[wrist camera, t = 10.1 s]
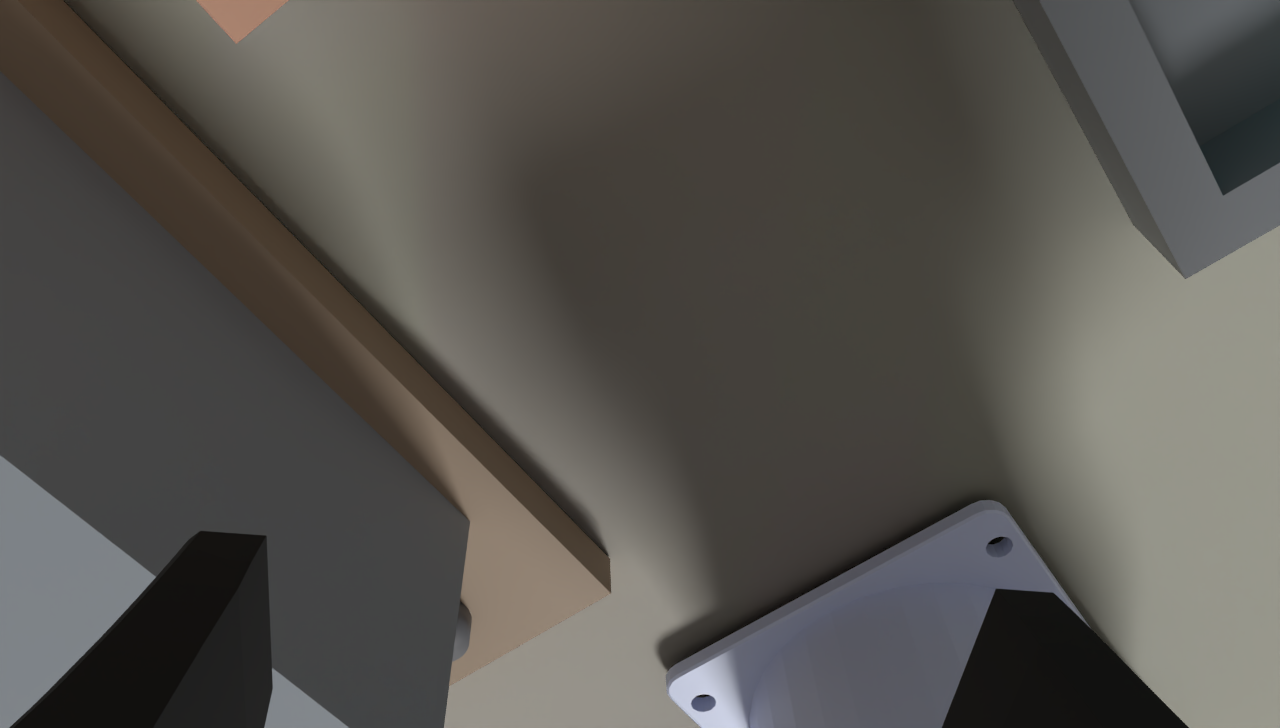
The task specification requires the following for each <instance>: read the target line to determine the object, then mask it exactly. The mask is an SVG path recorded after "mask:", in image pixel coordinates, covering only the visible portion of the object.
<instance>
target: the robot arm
mask: <svg viewBox="0 0 1280 728" xmlns="http://www.w3.org/2000/svg"><path fill="white" fill-rule="evenodd" d="M997 537H1005V538H1004V539H1003V540H1002V541H1000V542H999V543H996V544H988V543H989V542H990V541H991V540H992V539H994V538H997ZM666 687H667V694H668V695H669V697H670V698H671V699H672V700H673V701H674V702H675V703H676V704H677V705H678V706H679V707H680V708H681V709H682V710H683V711H684V712H685V713H686V714H687V715H688V716H689V717H690V718H691V719H692V720H693V721H694V722H695V723H696V724H697V725H698V726H699V727H700V728H1189V727H1188V726H1187V725H1186V724H1185V723H1184V722H1183V721H1182V720H1181V719H1180V718H1179V717H1178V716H1177V715H1176V714H1175V713H1174V712H1173V711H1172V710H1171V709H1170V708H1169V707H1168V706H1167V705H1166V704H1165V703H1164V702H1163V701H1162V700H1161V699H1160V698H1159V697H1158V696H1157V695H1156V694H1155V693H1154V692H1153V691H1152V690H1151V689H1150V688H1149V687H1148V686H1147V685H1146V684H1145V683H1144V682H1143V681H1142V680H1141V679H1140V678H1139V677H1138V676H1137V675H1136V674H1135V673H1134V672H1133V671H1132V670H1131V669H1130V668H1129V667H1128V666H1127V665H1126V664H1125V663H1124V662H1123V661H1122V660H1121V659H1120V658H1119V657H1118V656H1117V655H1116V654H1115V653H1114V652H1113V651H1112V650H1111V649H1110V648H1109V647H1108V646H1107V645H1106V644H1105V643H1104V642H1103V640H1102V639H1101V638H1100V637H1099V636H1098V635H1097V634H1096V633H1095V632H1094V631H1093V630H1092V629H1091V628H1090V626H1089V625H1088V623H1087V622H1086V621H1085V619H1084V618H1083V616H1082V615H1081V614H1080V612H1079V611H1078V609H1077V608H1076V606H1075V605H1074V604H1073V602H1072V601H1071V599H1070V598H1069V597H1068V595H1067V594H1066V592H1065V591H1064V590H1063V588H1062V587H1061V585H1060V584H1059V582H1058V581H1057V580H1056V578H1055V577H1054V575H1053V574H1052V573H1051V571H1050V570H1049V568H1048V567H1047V566H1046V564H1045V563H1044V561H1043V560H1042V558H1041V557H1040V556H1039V554H1038V553H1037V551H1036V550H1035V549H1034V547H1033V546H1032V544H1031V543H1030V541H1029V540H1028V539H1027V537H1026V536H1025V534H1024V533H1023V532H1022V530H1021V529H1020V527H1019V526H1018V525H1017V523H1016V522H1015V520H1014V519H1013V517H1012V516H1011V515H1010V513H1009V512H1008V510H1007V509H1006V508H1005V507H1004V506H1003V505H1002V504H1001V503H1000V502H996V501H993V500H981V501H978V502H975V503H972V504H970V505H968V506H966V507H965V508H963V509H961V510H959V511H957V512H955V513H954V514H952V515H950V516H948V517H946V518H944V519H942V520H941V521H939V522H937V523H935V524H933V525H931V526H930V527H928V528H926V529H924V530H922V531H920V532H918V533H917V534H915V535H913V536H911V537H909V538H907V539H906V540H904V541H902V542H900V543H898V544H896V545H895V546H893V547H891V548H889V549H887V550H885V551H883V552H882V553H880V554H878V555H876V556H874V557H872V558H871V559H869V560H867V561H865V562H863V563H861V564H859V565H858V566H856V567H854V568H852V569H850V570H848V571H847V572H845V573H843V574H841V575H839V576H837V577H836V578H834V579H832V580H830V581H828V582H826V583H824V584H823V585H821V586H819V587H817V588H815V589H813V590H812V591H810V592H808V593H806V594H804V595H802V596H800V597H799V598H797V599H795V600H793V601H791V602H789V603H788V604H786V605H784V606H782V607H780V608H778V609H777V610H775V611H773V612H771V613H769V614H767V615H765V616H764V617H762V618H760V619H758V620H756V621H754V622H753V623H751V624H749V625H747V626H745V627H743V628H741V629H740V630H738V631H736V632H734V633H732V634H730V635H729V636H727V637H725V638H723V639H721V640H719V641H718V642H716V643H714V644H712V645H710V646H708V647H706V648H705V649H703V650H701V651H699V652H697V653H695V654H694V655H692V656H690V657H688V658H686V659H684V660H682V661H681V662H679V663H677V664H675V665H674V666H673V667H671V668H670V669H669V671H668V672H667V674H666ZM272 690H273V681H272V656H271V631H270V607H269V582H268V558H267V536H266V535H252V534H239V533H225V532H211V531H199V532H198V533H197V534H195V535H194V536H193V537H191V538H190V539H189V540H188V541H187V542H186V543H185V544H184V545H183V547H182V548H181V549H180V550H179V551H178V552H177V554H176V555H175V556H174V557H173V558H172V559H171V561H170V562H169V563H168V564H167V565H166V566H165V567H164V568H163V570H162V571H161V572H160V573H159V574H158V575H157V576H156V578H155V579H154V580H153V581H152V582H151V583H150V584H149V585H148V587H147V588H146V589H145V590H144V591H143V592H142V593H141V594H140V595H139V597H138V598H137V599H136V600H135V601H134V602H133V603H132V604H131V605H130V606H129V608H128V609H127V610H126V611H125V612H124V613H123V614H122V615H121V616H120V617H119V618H118V619H117V620H116V622H115V623H114V624H113V625H112V626H111V627H110V628H109V629H108V630H107V631H106V632H105V633H104V634H103V635H102V637H101V638H100V639H99V640H98V641H97V642H96V643H95V644H94V645H93V646H92V647H91V648H90V649H89V650H88V651H87V652H86V653H85V654H84V655H83V656H82V657H81V658H80V659H79V660H78V661H77V662H76V663H75V664H74V665H73V666H72V667H71V668H70V669H69V670H68V671H67V672H66V673H65V674H64V675H63V676H62V677H61V678H60V679H59V680H58V681H57V682H56V683H55V684H54V685H53V686H52V687H51V688H50V689H49V690H48V691H47V692H46V693H45V694H44V695H43V696H42V697H41V698H40V699H39V700H38V701H37V702H36V703H35V704H34V705H33V706H32V707H31V708H30V709H29V710H28V711H27V712H26V713H25V714H23V715H22V716H21V717H20V718H19V719H18V720H17V721H16V722H15V723H14V724H13V725H12V726H10V727H9V728H264V727H265V722H266V718H267V713H268V708H269V704H270V699H271V695H272ZM702 694H706V695H709V696H707V697H703V698H702V697H696V696H698V695H702Z"/></svg>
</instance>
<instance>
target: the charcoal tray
mask: <svg viewBox="0 0 1280 728" xmlns="http://www.w3.org/2000/svg"><path fill="white" fill-rule="evenodd" d="M1013 2H1014V3H1015V5H1016V7H1017V9H1018V11H1019V13H1020V15H1021V16H1022V18H1023V20H1024V22H1025V24H1026V26H1027V28H1028V29H1029V31H1030V33H1031V35H1032V37H1033V39H1034V41H1035V42H1036V44H1037V46H1038V48H1039V50H1040V52H1041V54H1042V56H1043V57H1044V59H1045V61H1046V63H1047V65H1048V67H1049V69H1050V70H1051V72H1052V74H1053V76H1054V78H1055V80H1056V82H1057V83H1058V85H1059V87H1060V89H1061V91H1062V93H1063V95H1064V96H1065V98H1066V100H1067V102H1068V104H1069V106H1070V108H1071V110H1072V111H1073V113H1074V115H1075V117H1076V119H1077V121H1078V123H1079V124H1080V126H1081V128H1082V130H1083V132H1084V134H1085V136H1086V137H1087V139H1088V141H1089V143H1090V145H1091V147H1092V149H1093V150H1094V152H1095V154H1096V156H1097V158H1098V160H1099V162H1100V164H1101V165H1102V167H1103V169H1104V171H1105V173H1106V175H1107V177H1108V178H1109V180H1110V182H1111V184H1112V186H1113V188H1114V190H1115V191H1116V193H1117V195H1118V197H1119V199H1120V201H1121V203H1122V204H1123V206H1124V208H1125V210H1126V212H1127V214H1128V216H1129V218H1130V219H1131V221H1132V223H1133V225H1134V226H1135V227H1136V228H1137V229H1138V230H1139V231H1140V232H1141V233H1142V234H1143V236H1144V237H1145V238H1146V239H1147V240H1148V241H1149V242H1150V243H1151V244H1152V245H1153V246H1154V247H1155V248H1156V249H1157V250H1158V251H1159V252H1160V253H1161V254H1162V255H1163V256H1164V257H1165V258H1166V259H1167V260H1168V261H1169V262H1170V263H1171V265H1172V266H1173V267H1174V268H1175V269H1176V270H1177V271H1178V272H1179V273H1180V274H1181V275H1182V276H1183V277H1184V278H1185V279H1186V278H1188V277H1190V276H1191V275H1193V274H1195V273H1197V272H1199V271H1200V270H1202V269H1204V268H1206V267H1207V266H1209V265H1211V264H1213V263H1214V262H1216V261H1218V260H1220V259H1221V258H1223V257H1225V256H1227V255H1228V254H1230V253H1232V252H1234V251H1235V250H1237V249H1239V248H1241V247H1242V246H1244V245H1246V244H1248V243H1249V242H1251V241H1253V240H1255V239H1256V238H1258V237H1260V236H1262V235H1263V234H1265V233H1267V232H1269V231H1270V230H1272V229H1274V228H1276V227H1278V226H1279V225H1280V0H1013Z"/></svg>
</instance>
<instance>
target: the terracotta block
mask: <svg viewBox="0 0 1280 728" xmlns="http://www.w3.org/2000/svg"><path fill="white" fill-rule="evenodd" d="M196 1H197V2H198V3H199V4H200V5H201V6H202V7H203V8H204V9H205V10H206V12H207V13H208V14H209V15H210V16H211V17H212V18H213V19H214V20H215V21H216V22H217V23H218V25H219V26H220V27H221V28H222V29H223V30H224V31H225V32H226V33H227V34H228V35H229V36H230V38H231V39H232V40H233V41H234V42H235V43H236V44H237V43H238V42H239V41H240V40H242V39H243V38H244V37H245V36H246V35H248V34H249V33H250V32H251V31H252V30H254V29H255V28H256V27H257V26H258V25H260V24H261V23H262V22H263V21H264V20H266V19H267V18H268V17H269V16H270V15H272V14H273V13H274V12H275V11H276V10H278V9H279V8H280V7H281V6H282V5H284V4H285V3H286V2H287V1H288V0H196Z"/></svg>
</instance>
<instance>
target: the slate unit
mask: <svg viewBox="0 0 1280 728" xmlns="http://www.w3.org/2000/svg"><path fill="white" fill-rule="evenodd" d="M199 531H211V532H225V533H239V534H252V535H266V536H267V558H268V582H269V607H270V631H271V656H272V681H273V690H272V695H271V699H270V704H269V708H268V713H267V718H266V722H265V727H264V728H444V721H445V713H446V705H447V698H448V690H449V686H450V685H452V684H454V683H456V682H457V681H459V680H461V679H463V678H464V677H466V676H468V675H470V674H471V673H473V672H475V671H476V670H478V669H480V668H482V667H483V666H485V665H487V664H489V663H490V662H492V661H494V660H496V659H497V658H499V657H501V656H503V655H504V654H506V653H508V652H510V651H511V650H513V649H515V648H517V647H518V646H520V645H522V644H524V643H525V642H527V641H529V640H531V639H532V638H534V637H536V636H538V635H539V634H541V633H543V632H545V631H546V630H548V629H550V628H551V627H553V626H555V625H557V624H558V623H560V622H562V621H564V620H565V619H567V618H569V617H571V616H572V615H574V614H576V613H578V612H579V611H581V610H583V609H585V608H586V607H588V606H590V605H592V604H593V603H595V602H597V601H599V600H600V599H602V598H604V597H606V596H607V595H609V594H611V577H610V558H609V557H608V556H607V555H606V554H605V553H604V552H603V551H602V550H601V549H600V548H599V547H598V546H597V545H596V544H595V543H594V542H593V541H592V540H591V539H590V538H589V537H588V536H587V535H586V534H585V533H584V532H583V531H582V530H581V529H580V528H579V527H578V526H577V525H576V524H575V523H574V522H573V521H572V520H571V519H570V518H569V517H568V516H567V515H566V514H565V513H564V512H563V511H562V509H561V508H560V507H559V506H558V505H557V504H556V503H555V502H554V501H553V500H552V499H551V498H550V497H549V496H548V495H547V494H546V493H545V492H544V491H543V490H542V489H541V488H540V487H539V486H538V485H537V484H536V483H535V482H534V481H533V480H532V479H531V478H530V477H529V476H528V475H527V474H526V473H525V472H524V471H523V470H522V469H521V468H520V467H519V466H518V465H517V464H516V463H515V462H514V460H513V459H512V458H511V457H510V456H509V455H508V454H507V453H506V452H505V451H504V450H503V449H502V448H501V447H500V446H499V445H498V444H497V443H496V442H495V441H494V440H493V439H492V438H491V437H490V436H489V435H488V434H487V433H486V432H485V431H484V430H483V429H482V428H481V427H480V426H479V425H478V424H477V423H476V422H475V421H474V420H473V419H472V418H471V417H470V416H469V415H468V414H467V413H466V411H465V410H464V409H463V408H462V407H461V406H460V405H459V404H458V403H457V402H456V401H455V400H454V399H453V398H452V397H451V396H450V395H449V394H448V393H447V392H446V391H445V390H444V389H443V388H442V387H441V386H440V385H439V384H438V383H437V382H436V381H435V380H434V379H433V378H432V377H431V376H430V375H429V374H428V373H427V372H426V371H425V370H424V369H423V368H422V367H421V366H420V365H419V364H418V362H417V361H416V360H415V359H414V358H413V357H412V356H411V355H410V354H409V353H408V352H407V351H406V350H405V349H404V348H403V347H402V346H401V345H400V344H399V343H398V342H397V341H396V340H395V339H394V338H393V337H392V336H391V335H390V334H389V333H388V332H387V331H386V330H385V329H384V328H383V327H382V326H381V325H380V324H379V323H378V322H377V321H376V320H375V319H374V318H373V317H372V316H371V315H370V313H369V312H368V311H367V310H366V309H365V308H364V307H363V306H362V305H361V304H360V303H359V302H358V301H357V300H356V299H355V298H354V297H353V296H352V295H351V294H350V293H349V292H348V291H347V290H346V289H345V288H344V287H343V286H342V285H341V284H340V283H339V282H338V281H337V280H336V279H335V278H334V277H333V276H332V275H331V274H330V273H329V272H328V271H327V270H326V269H325V268H324V267H323V266H322V264H321V263H320V262H319V261H318V260H317V259H316V258H315V257H314V256H313V255H312V254H311V253H310V252H309V251H308V250H307V249H306V248H305V247H304V246H303V245H302V244H301V243H300V242H299V241H298V240H297V239H296V238H295V237H294V236H293V235H292V234H291V233H290V232H289V231H288V230H287V229H286V228H285V227H284V226H283V225H282V224H281V223H280V222H279V221H278V220H277V219H276V218H275V217H274V215H273V214H272V213H271V212H270V211H269V210H268V209H267V208H266V207H265V206H264V205H263V204H262V203H261V202H260V201H259V200H258V199H257V198H256V197H255V196H254V195H253V194H252V193H251V192H250V191H249V190H248V189H247V188H246V187H245V186H244V185H243V184H242V183H241V182H240V181H239V180H238V179H237V178H236V177H235V176H234V175H233V174H232V173H231V172H230V171H229V170H228V169H227V168H226V166H225V165H224V164H223V163H222V162H221V161H220V160H219V159H218V158H217V157H216V156H215V155H214V154H213V153H212V152H211V151H210V150H209V149H208V148H207V147H206V146H205V145H204V144H203V143H202V142H201V141H200V140H199V139H198V138H197V137H196V136H195V135H194V134H193V133H192V132H191V131H190V130H189V129H188V128H187V127H186V126H185V125H184V124H183V123H182V122H181V121H180V120H179V119H178V117H177V116H176V115H175V114H174V113H173V112H172V111H171V110H170V109H169V108H168V107H167V106H166V105H165V104H164V103H163V102H162V101H161V100H160V99H159V98H158V97H157V96H156V95H155V94H154V93H153V92H152V91H151V90H150V89H149V88H148V87H147V86H146V85H145V84H144V83H143V82H142V81H141V80H140V79H139V78H138V77H137V76H136V75H135V74H134V73H133V72H132V71H131V70H130V68H129V67H128V66H127V65H126V64H125V63H124V62H123V61H122V60H121V59H120V58H119V57H118V56H117V55H116V54H115V53H114V52H113V51H112V50H111V49H110V48H109V47H108V46H107V45H106V44H105V43H104V42H103V41H102V40H101V39H100V38H99V37H98V36H97V35H96V34H95V33H94V32H93V31H92V30H91V29H90V28H89V27H88V26H87V25H86V24H85V23H84V22H83V21H82V19H81V18H80V17H79V16H78V15H77V14H76V13H75V12H74V11H73V10H72V9H71V8H70V7H69V6H68V5H67V4H66V3H65V2H64V1H63V0H0V728H9V727H10V726H12V725H13V724H14V723H15V722H16V721H17V720H18V719H19V718H20V717H21V716H22V715H23V714H25V713H26V712H27V711H28V710H29V709H30V708H31V707H32V706H33V705H34V704H35V703H36V702H37V701H38V700H39V699H40V698H41V697H42V696H43V695H44V694H45V693H46V692H47V691H48V690H49V689H50V688H51V687H52V686H53V685H54V684H55V683H56V682H57V681H58V680H59V679H60V678H61V677H62V676H63V675H64V674H65V673H66V672H67V671H68V670H69V669H70V668H71V667H72V666H73V665H74V664H75V663H76V662H77V661H78V660H79V659H80V658H81V657H82V656H83V655H84V654H85V653H86V652H87V651H88V650H89V649H90V648H91V647H92V646H93V645H94V644H95V643H96V642H97V641H98V640H99V639H100V638H101V637H102V635H103V634H104V633H105V632H106V631H107V630H108V629H109V628H110V627H111V626H112V625H113V624H114V623H115V622H116V620H117V619H118V618H119V617H120V616H121V615H122V614H123V613H124V612H125V611H126V610H127V609H128V608H129V606H130V605H131V604H132V603H133V602H134V601H135V600H136V599H137V598H138V597H139V595H140V594H141V593H142V592H143V591H144V590H145V589H146V588H147V587H148V585H149V584H150V583H151V582H152V581H153V580H154V579H155V578H156V576H157V575H158V574H159V573H160V572H161V571H162V570H163V568H164V567H165V566H166V565H167V564H168V563H169V562H170V561H171V559H172V558H173V557H174V556H175V555H176V554H177V552H178V551H179V550H180V549H181V548H182V547H183V545H184V544H185V543H186V542H187V541H188V540H189V539H190V538H191V537H193V536H194V535H195V534H197V533H198V532H199Z"/></svg>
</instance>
